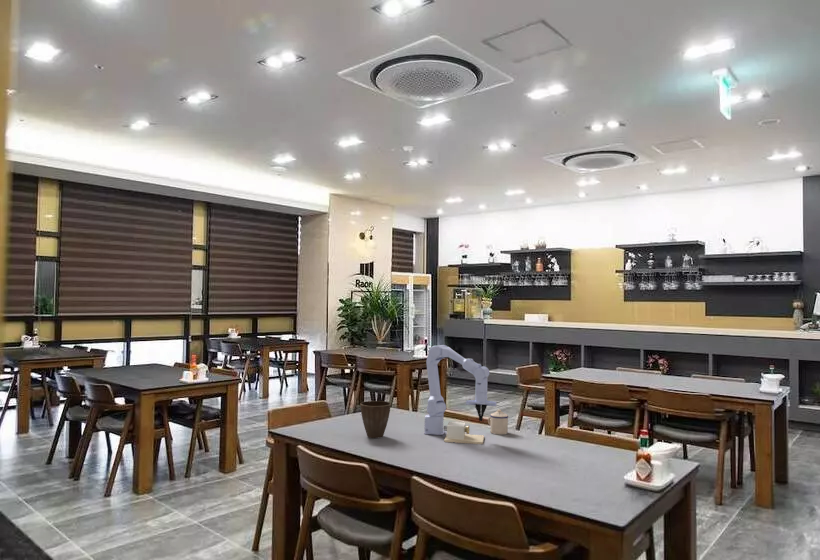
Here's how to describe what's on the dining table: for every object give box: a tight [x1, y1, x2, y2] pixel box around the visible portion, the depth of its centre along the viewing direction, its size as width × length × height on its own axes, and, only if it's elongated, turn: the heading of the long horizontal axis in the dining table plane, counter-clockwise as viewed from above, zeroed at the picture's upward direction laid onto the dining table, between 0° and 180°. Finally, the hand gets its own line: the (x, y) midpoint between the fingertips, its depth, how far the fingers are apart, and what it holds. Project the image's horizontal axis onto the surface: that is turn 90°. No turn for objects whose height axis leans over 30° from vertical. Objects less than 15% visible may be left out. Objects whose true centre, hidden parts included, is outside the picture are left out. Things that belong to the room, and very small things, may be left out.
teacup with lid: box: [487, 409, 509, 436], centre depth 292 cm, size 12×9×12 cm
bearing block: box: [443, 421, 485, 445], centre depth 274 cm, size 18×14×7 cm
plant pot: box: [359, 400, 392, 439], centre depth 277 cm, size 15×15×16 cm
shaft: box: [443, 425, 470, 434], centre depth 275 cm, size 12×4×4 cm, turn 80°
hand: (480, 420), depth 274 cm, fingers closed
